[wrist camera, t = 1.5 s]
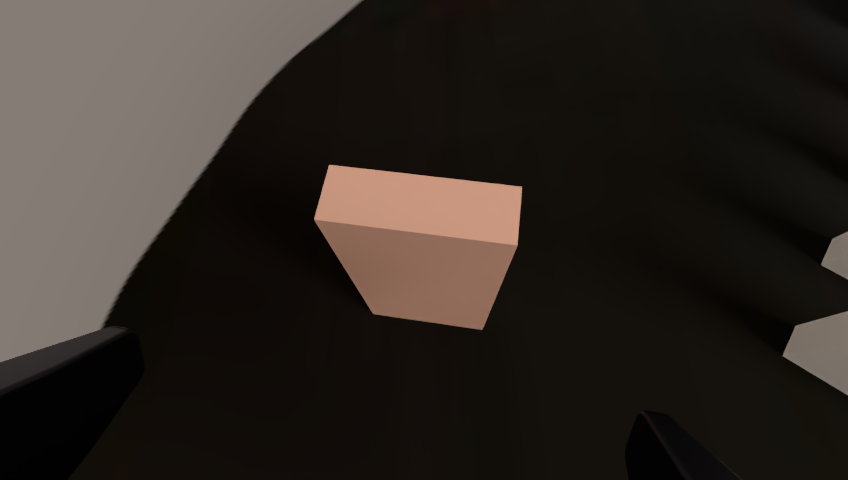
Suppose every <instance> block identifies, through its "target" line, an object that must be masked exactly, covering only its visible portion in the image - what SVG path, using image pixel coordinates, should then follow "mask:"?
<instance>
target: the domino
mask: <svg viewBox="0 0 848 480" xmlns="http://www.w3.org/2000/svg"><path fill="white" fill-rule="evenodd" d="M521 194H522V187H519V186H510V185H502V184H493V183H484V182H475V181H466V180H458V179H449V178H440V177H431V176H422V175H414V174H405V173H396V172H387V171H379V170H370V169H361V168H352V167H343V166H335V165H329V167H328V171H327V175H326V178H325V182H324V185H323V189H322V193H321V196H320V200H319V203H318V207H317V211H316V214H315V218H314V220H315V222H316V224H317V225H318V227H319V228H320V230H321V232H322V233H323V235H324V236H325V238H326V240H327V241H328V243H329V244H330V246H331V248H332V249H333V251H334V252H335V254H336V256H337V257H338V259H339V260H340V262H341V263H342V265H343V267H344V268H345V270H346V271H347V273H348V275H349V276H350V278H351V279H352V281H353V283H354V284H355V286H356V287H357V289H358V291H359V292H360V294H361V295H362V297H363V299H364V300H365V302H366V303H367V305H368V307H369V308H370V310H371V311H372V313H373V314H377V315H384V316H391V317H398V318H405V319H411V320H418V321H425V322H432V323H439V324H446V325H453V326H459V327H466V328H473V329H480V330H482V329H483V327H484V325H485V322H486V320H487V317H488V315H489V313H490V310H491V308H492V305H493V303H494V301H495V298H496V296H497V293H498V291H499V289H500V286H501V284H502V281H503V279H504V277H505V274H506V272H507V269H508V267H509V265H510V262H511V260H512V257H513V255H514V253H515V250H516V248H517V245H518V232H519V220H520V207H521Z"/></svg>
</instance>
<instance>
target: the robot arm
mask: <svg viewBox="0 0 848 480" xmlns="http://www.w3.org/2000/svg"><path fill="white" fill-rule="evenodd" d="M144 368H145V364H144V359H143V354H142V349H141V344H140V339H139V335H138V334H137V332H136V331H135V330H133V329H129V328H123V327H115V326H113V327H108V328H104V329H101V330H98V331H95V332H92V333H89V334H86V335H83V336H80V337H77V338H74V339H71V340H68V341H65V342H61V343H58V344H56V345H52V346H50V347H46V348H43V349H40V350H37V351H34V352H31V353H28V354H25V355H22V356H19V357H15V358H12V359H9V360H6V361H3V362H0V480H67V479H68V478H69V477H70V476H71V474H72V473H73V472H74V471H75V470H76V468H77V467H78V466H79V465H80V463H81V462H82V461H83V460H84V458H85V457H86V456H87V455H88V453H89V452H90V451H91V449H92V448H93V446H94V445H95V444H96V442H97V441H98V440H99V438H100V437H101V435H102V434H103V432H104V431H105V429H106V428H107V427H108V425H109V424H110V422H111V421H112V419H113V418H114V417H115V415H116V414H117V412H118V411H119V409H120V408H121V407H122V405H123V404H124V402H125V401H126V399H127V398H128V397H129V395H130V394H131V392H132V391H133V389H134V388H135V387H136V385H137V384H138V382H139V381H140V379H141V378H142V375H143V373H144ZM625 460H626V466H627V472H628V478H629V480H742V479H741V478H740V477H738V476H737V475H736V474H735V473H734V472H733V471H732V470H730V469H729V468H728V467H727V466H726V465H725V464H724V463H722V462H721V461H720V460H719V459H718V458H717V457H716V456H715V455H713V454H712V453H711V452H710V451H709V450H708V449H707V448H705V447H704V446H703V445H702V444H701V443H700V442H699V441H698V440H696V439H695V438H694V437H693V436H692V435H691V434H690V433H688V432H687V431H686V430H685V429H684V428H683V427H682V426H680V425H679V424H678V423H677V422H676V421H675V420H674V419H673V418H671V417H670V416H669V415H667V414H664V413H659V412H652V411H646V410H644V411H641V412H639V413H638V415H637V417H636V419H635V422H634V425H633V428H632V431H631V433H630V436H629V439H628V442H627V445H626V450H625Z"/></svg>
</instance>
